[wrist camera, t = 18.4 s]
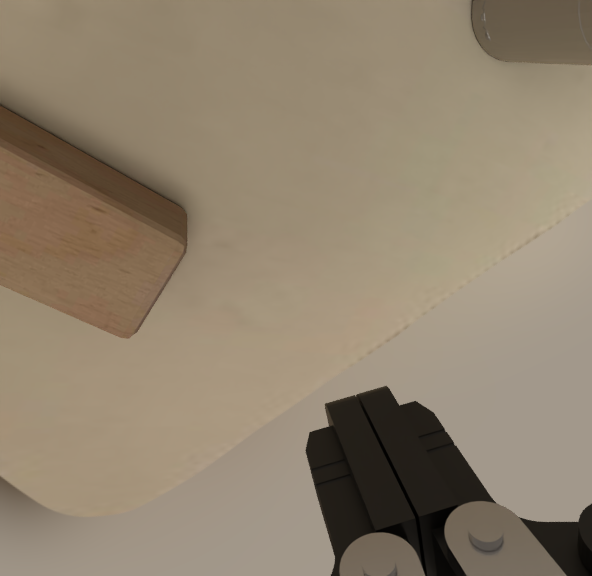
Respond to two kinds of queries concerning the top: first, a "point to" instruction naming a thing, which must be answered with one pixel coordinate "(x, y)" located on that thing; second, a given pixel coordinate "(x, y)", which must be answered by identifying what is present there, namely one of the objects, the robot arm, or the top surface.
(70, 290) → the wooden block
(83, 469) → the top surface
